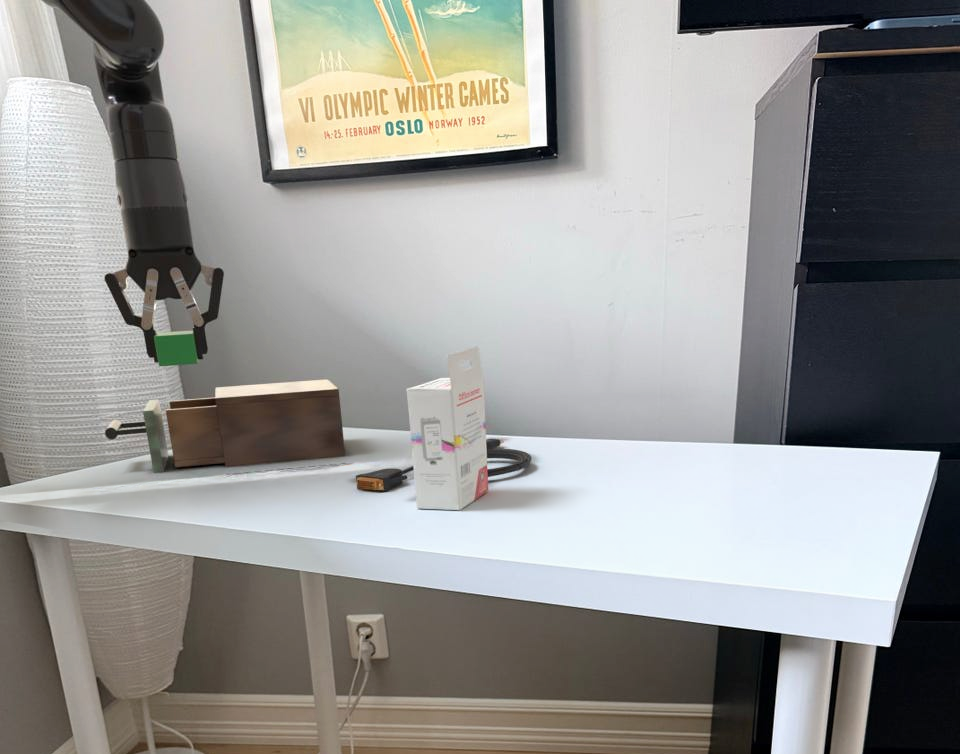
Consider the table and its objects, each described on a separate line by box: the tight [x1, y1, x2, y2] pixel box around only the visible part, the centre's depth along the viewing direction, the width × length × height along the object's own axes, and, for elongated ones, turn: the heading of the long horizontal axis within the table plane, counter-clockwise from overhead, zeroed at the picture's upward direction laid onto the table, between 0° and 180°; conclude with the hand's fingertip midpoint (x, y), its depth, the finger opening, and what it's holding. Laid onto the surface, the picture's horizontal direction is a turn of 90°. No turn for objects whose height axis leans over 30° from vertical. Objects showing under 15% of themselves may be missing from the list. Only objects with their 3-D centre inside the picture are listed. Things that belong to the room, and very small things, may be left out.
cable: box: [355, 438, 532, 493], centre depth 108 cm, size 14×28×2 cm, turn 146°
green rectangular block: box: [154, 330, 199, 367], centre depth 112 cm, size 4×8×3 cm, turn 15°
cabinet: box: [214, 379, 347, 475], centre depth 118 cm, size 15×13×9 cm
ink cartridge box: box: [406, 345, 489, 511], centre depth 92 cm, size 9×5×15 cm, turn 160°
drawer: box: [104, 396, 225, 474], centre depth 116 cm, size 18×11×7 cm, turn 105°
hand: (179, 359), depth 113 cm, fingers closed on green rectangular block, 4 cm apart
